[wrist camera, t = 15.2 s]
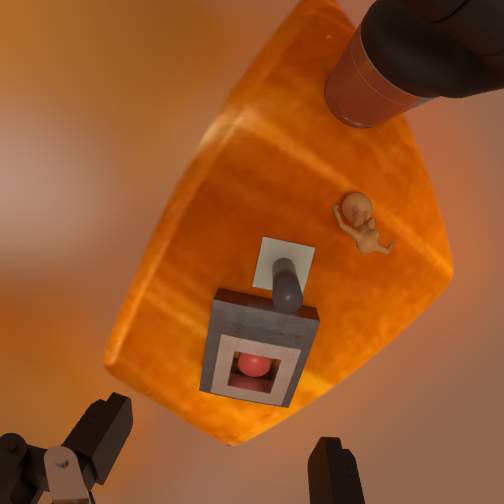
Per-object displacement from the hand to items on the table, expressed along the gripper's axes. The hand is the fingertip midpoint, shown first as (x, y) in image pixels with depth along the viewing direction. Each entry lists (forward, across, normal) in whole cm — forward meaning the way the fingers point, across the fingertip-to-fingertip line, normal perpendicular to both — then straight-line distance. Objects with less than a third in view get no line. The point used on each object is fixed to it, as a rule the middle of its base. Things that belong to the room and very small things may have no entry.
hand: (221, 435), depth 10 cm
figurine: (+30, -11, -8) cm, 33 cm away
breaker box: (+30, -2, +14) cm, 33 cm away
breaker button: (+30, -3, +14) cm, 33 cm away
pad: (+30, -4, +1) cm, 30 cm away
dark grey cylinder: (+30, -4, +1) cm, 30 cm away
